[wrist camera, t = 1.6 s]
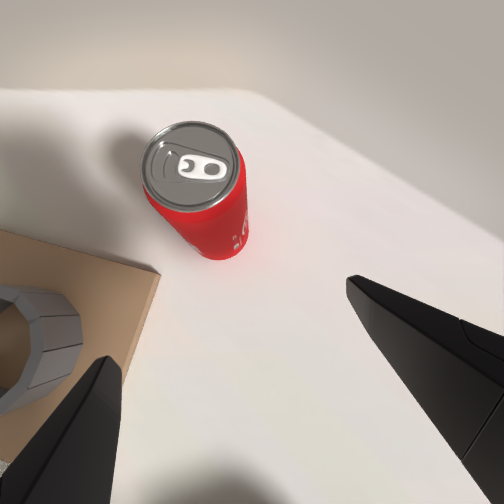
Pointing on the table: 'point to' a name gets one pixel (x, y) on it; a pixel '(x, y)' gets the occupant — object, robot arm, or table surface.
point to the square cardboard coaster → (60, 327)
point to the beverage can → (198, 186)
